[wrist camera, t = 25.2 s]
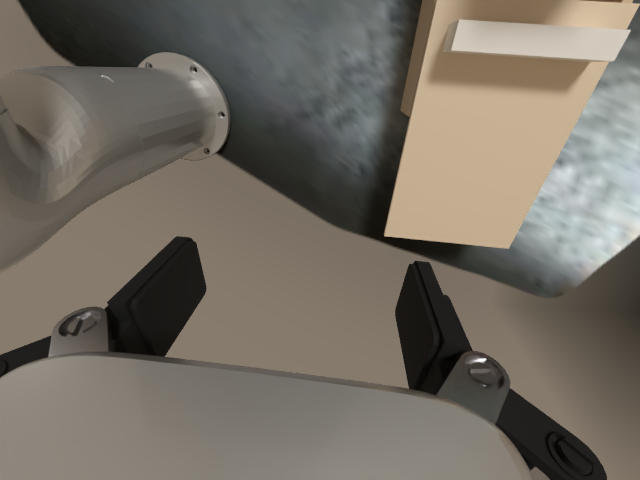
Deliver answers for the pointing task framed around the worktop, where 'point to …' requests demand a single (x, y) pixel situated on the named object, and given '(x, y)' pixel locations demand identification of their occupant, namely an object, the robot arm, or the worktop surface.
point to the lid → (496, 112)
